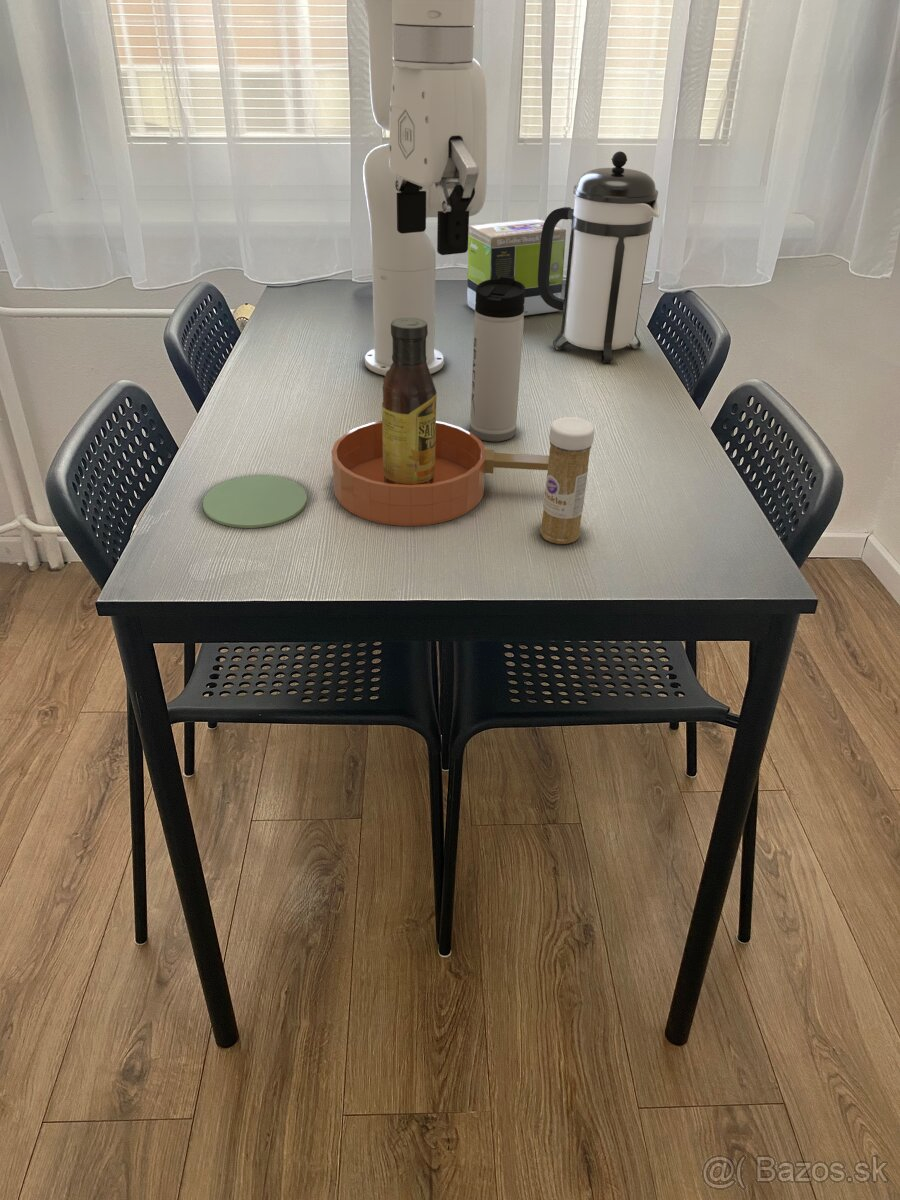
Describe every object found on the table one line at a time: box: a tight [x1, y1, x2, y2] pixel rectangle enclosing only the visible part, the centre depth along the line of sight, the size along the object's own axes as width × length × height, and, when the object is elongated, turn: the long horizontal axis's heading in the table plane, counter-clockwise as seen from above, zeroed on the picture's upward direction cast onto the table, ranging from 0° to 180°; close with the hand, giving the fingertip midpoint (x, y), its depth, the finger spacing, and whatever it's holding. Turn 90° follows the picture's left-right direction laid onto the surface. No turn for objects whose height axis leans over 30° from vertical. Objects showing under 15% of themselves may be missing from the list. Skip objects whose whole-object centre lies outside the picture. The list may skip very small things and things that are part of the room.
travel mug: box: [469, 276, 525, 443], centre depth 115 cm, size 6×7×20 cm
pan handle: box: [484, 448, 549, 475], centre depth 104 cm, size 11×3×2 cm, turn 86°
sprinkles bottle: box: [539, 416, 595, 545], centre depth 95 cm, size 5×5×13 cm
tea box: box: [466, 218, 567, 317], centre depth 160 cm, size 15×10×15 cm, turn 114°
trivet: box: [202, 474, 308, 529], centre depth 103 cm, size 12×12×1 cm
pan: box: [331, 420, 486, 527], centre depth 106 cm, size 18×18×5 cm
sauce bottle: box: [381, 318, 437, 485], centre depth 101 cm, size 7×6×20 cm
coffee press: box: [538, 151, 661, 364], centre depth 140 cm, size 17×16×30 cm
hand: (431, 242), depth 92 cm, fingers open, 9 cm apart
